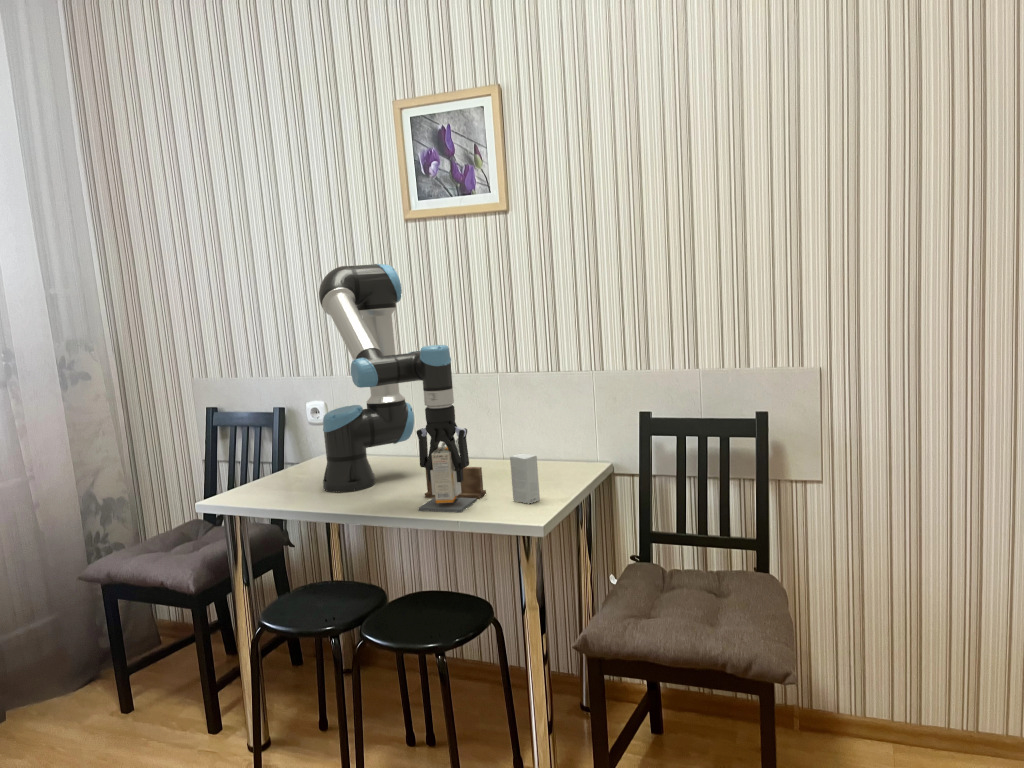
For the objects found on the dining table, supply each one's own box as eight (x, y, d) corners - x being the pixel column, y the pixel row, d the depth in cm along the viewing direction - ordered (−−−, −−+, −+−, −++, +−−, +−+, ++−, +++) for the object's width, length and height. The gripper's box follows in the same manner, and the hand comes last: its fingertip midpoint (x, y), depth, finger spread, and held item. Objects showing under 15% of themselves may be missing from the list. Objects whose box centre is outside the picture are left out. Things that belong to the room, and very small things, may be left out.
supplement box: (441, 494, 203) (437, 446, 202) (459, 494, 203) (455, 445, 201) (434, 503, 195) (430, 453, 193) (453, 503, 195) (449, 452, 193)
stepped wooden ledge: (425, 497, 209) (422, 469, 208) (433, 492, 213) (430, 464, 212) (479, 499, 203) (476, 470, 202) (486, 494, 208) (483, 465, 207)
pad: (418, 510, 197) (418, 507, 197) (435, 499, 206) (435, 496, 206) (461, 512, 192) (460, 509, 192) (476, 501, 202) (476, 498, 202)
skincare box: (540, 500, 198) (537, 455, 196) (529, 504, 195) (525, 458, 193) (524, 497, 202) (520, 452, 201) (512, 501, 199) (509, 456, 198)
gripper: (400, 408, 196) (408, 496, 199) (466, 407, 189) (474, 499, 192) (414, 403, 203) (421, 488, 206) (478, 402, 196) (485, 490, 199)
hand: (446, 493), depth 199 cm, fingers closed on supplement box, 6 cm apart
